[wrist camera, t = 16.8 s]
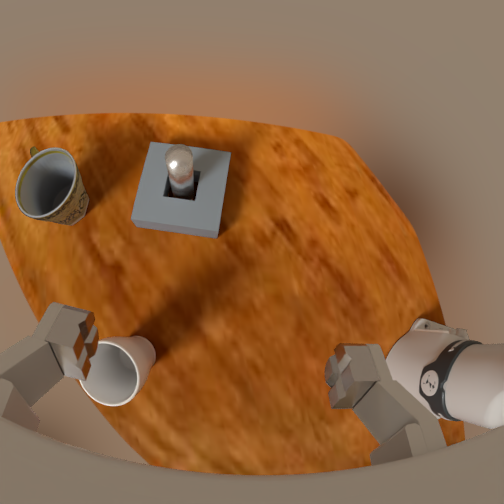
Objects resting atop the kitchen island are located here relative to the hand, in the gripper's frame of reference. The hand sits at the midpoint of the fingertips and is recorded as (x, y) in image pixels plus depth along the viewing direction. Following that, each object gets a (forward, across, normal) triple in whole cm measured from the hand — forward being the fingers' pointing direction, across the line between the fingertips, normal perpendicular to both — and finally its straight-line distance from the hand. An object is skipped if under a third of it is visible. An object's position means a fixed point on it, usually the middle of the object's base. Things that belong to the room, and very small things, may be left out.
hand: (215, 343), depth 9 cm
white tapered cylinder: (+19, +9, +28) cm, 35 cm away
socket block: (+36, +6, +11) cm, 38 cm away
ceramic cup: (+34, +25, +14) cm, 44 cm away
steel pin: (+36, +6, +11) cm, 38 cm away
